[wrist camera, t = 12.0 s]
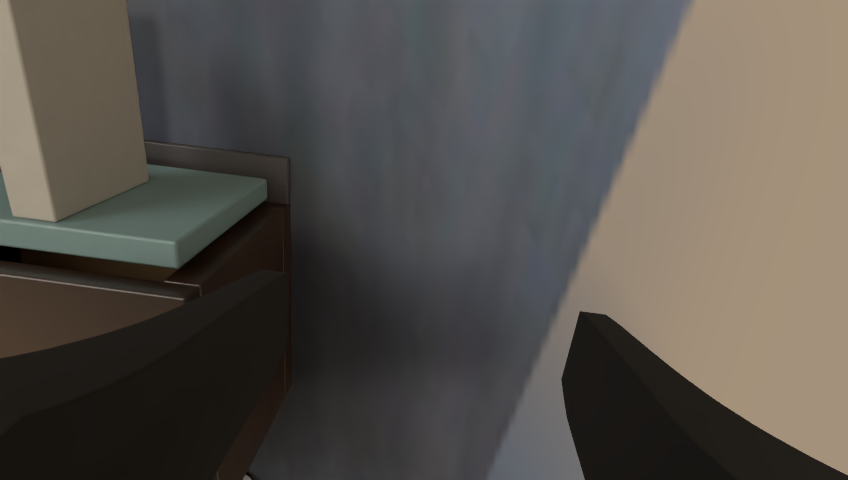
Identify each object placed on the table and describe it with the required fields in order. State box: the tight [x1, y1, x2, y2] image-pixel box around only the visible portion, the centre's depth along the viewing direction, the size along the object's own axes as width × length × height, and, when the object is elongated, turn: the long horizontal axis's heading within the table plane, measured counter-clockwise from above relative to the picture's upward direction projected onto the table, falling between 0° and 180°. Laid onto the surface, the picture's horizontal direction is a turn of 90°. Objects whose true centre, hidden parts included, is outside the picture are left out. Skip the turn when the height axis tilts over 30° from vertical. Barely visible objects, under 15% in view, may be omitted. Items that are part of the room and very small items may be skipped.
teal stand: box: [0, 0, 267, 269], centre depth 14 cm, size 7×8×6 cm
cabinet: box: [0, 140, 291, 480], centre depth 17 cm, size 11×16×8 cm
